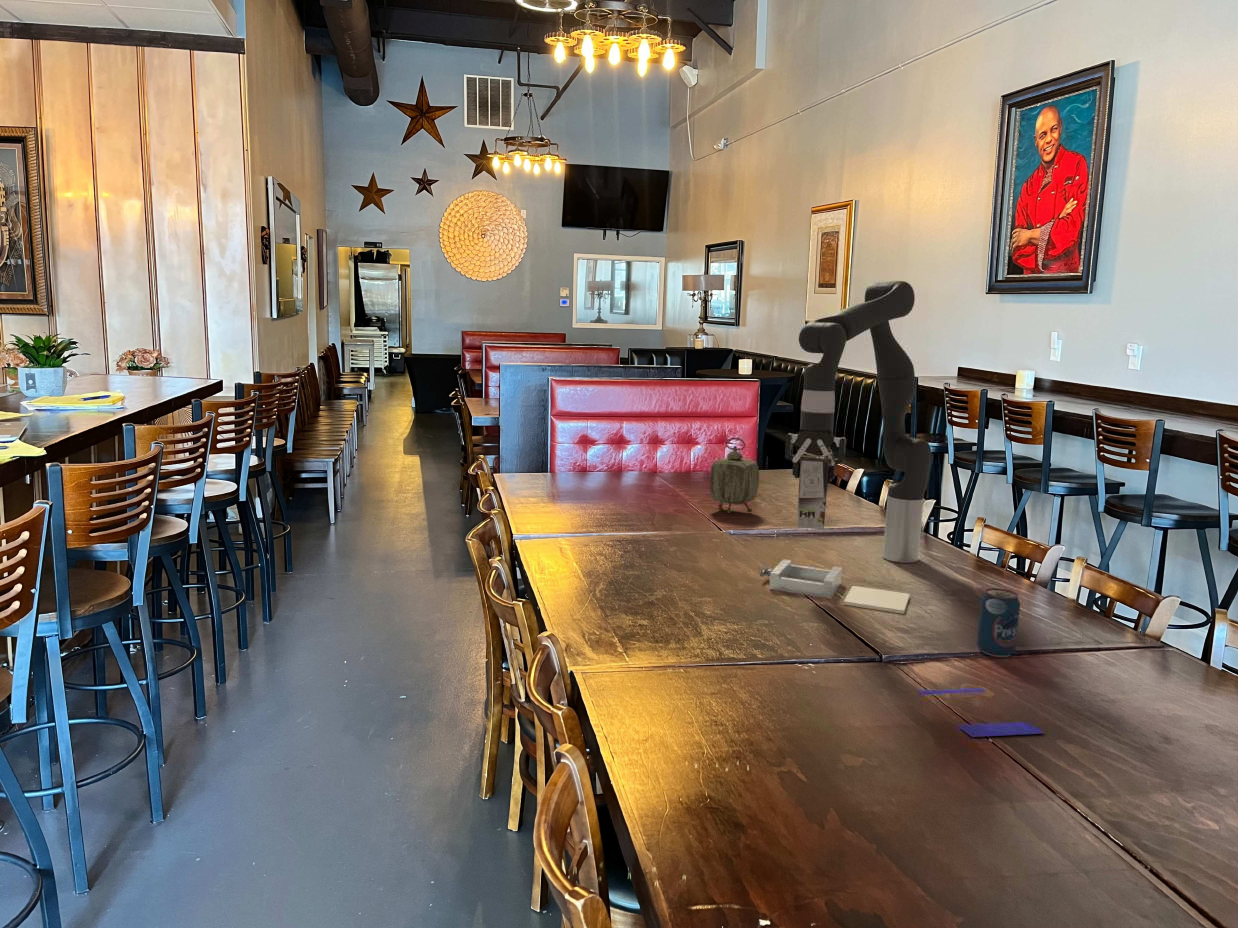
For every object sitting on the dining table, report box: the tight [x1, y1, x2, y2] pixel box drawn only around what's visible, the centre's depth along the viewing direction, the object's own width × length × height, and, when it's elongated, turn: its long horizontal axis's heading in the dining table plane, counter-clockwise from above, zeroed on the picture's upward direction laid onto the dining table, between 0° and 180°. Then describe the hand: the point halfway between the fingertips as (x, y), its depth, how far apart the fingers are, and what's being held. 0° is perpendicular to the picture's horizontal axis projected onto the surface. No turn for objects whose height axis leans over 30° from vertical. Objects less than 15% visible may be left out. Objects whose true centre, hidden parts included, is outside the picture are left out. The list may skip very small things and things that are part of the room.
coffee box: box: [796, 454, 830, 530], centre depth 201 cm, size 9×6×16 cm
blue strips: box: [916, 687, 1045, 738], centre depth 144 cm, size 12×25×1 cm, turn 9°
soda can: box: [976, 587, 1021, 658], centre depth 166 cm, size 7×7×12 cm
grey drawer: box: [759, 559, 843, 599], centre depth 206 cm, size 13×18×4 cm
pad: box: [843, 585, 911, 615], centre depth 196 cm, size 13×13×1 cm
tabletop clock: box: [709, 437, 760, 513], centre depth 282 cm, size 14×9×25 cm, turn 58°
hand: (813, 479), depth 201 cm, fingers closed on coffee box, 7 cm apart
